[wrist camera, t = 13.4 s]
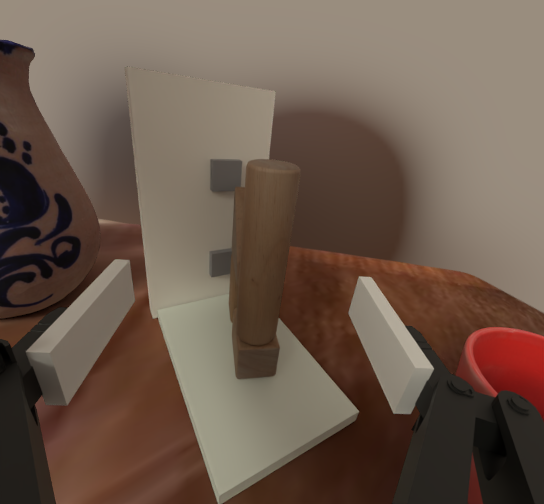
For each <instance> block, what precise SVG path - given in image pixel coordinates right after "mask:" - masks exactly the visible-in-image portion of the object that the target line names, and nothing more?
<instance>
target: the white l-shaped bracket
mask: <svg viewBox="0 0 544 504" xmlns="http://www.w3.org/2000/svg"><path fill="white" fill-rule="evenodd" d="M125 76H126V85H127V94H128V104H129V113H130V123H131V133H132V142H133V152H134V160H135V171H136V180H137V189H138V198H139V209H140V218H141V228H142V237H143V247H144V256H145V266H146V275H147V285H148V294H149V304H150V311H151V314H152V317H153V319H154V318H158V320H159V323H160V326H161V329H162V332H163V336H164V339H165V342H166V345H167V348H168V351H169V354H170V357H171V360H172V363H173V366H174V369H175V373H176V376H177V379H178V382H179V385H180V388H181V391H182V394H183V397H184V400H185V403H186V406H187V410H188V413H189V416H190V419H191V422H192V425H193V428H194V431H195V434H196V437H197V440H198V443H199V447H200V450H201V453H202V456H203V459H204V462H205V465H206V468H207V471H208V474H209V477H210V480H211V484H212V487H213V490H214V493H215V496H216V499H217V502H218V504H222V503H224V502H225V501H227V500H229V499H230V498H232V497H233V496H235V495H237V494H238V493H240V492H241V491H243V490H245V489H246V488H248V487H250V486H251V485H253V484H254V483H256V482H258V481H259V480H261V479H262V478H264V477H266V476H267V475H269V474H270V473H272V472H274V471H275V470H277V469H278V468H280V467H282V466H283V465H285V464H286V463H288V462H290V461H291V460H293V459H295V458H296V457H298V456H299V455H301V454H303V453H304V452H306V451H307V450H309V449H311V448H312V447H314V446H315V445H317V444H319V443H320V442H322V441H323V440H325V439H327V438H328V437H330V436H331V435H333V434H335V433H336V432H338V431H340V430H341V429H343V428H344V427H346V426H348V425H349V424H351V423H352V422H354V421H356V418H357V415H358V413H359V411H358V410H357V408H356V407H355V406H354V405H353V404H352V403H351V401H350V400H349V399H348V398H347V397H346V396H345V394H344V393H343V392H342V391H341V390H340V389H339V387H338V386H337V385H336V384H335V383H334V382H333V380H332V379H331V378H330V377H329V376H328V375H327V373H326V372H325V371H324V370H323V369H322V368H321V366H320V365H319V364H318V363H317V362H316V361H315V359H314V358H313V357H312V356H311V355H310V353H309V352H308V351H307V350H306V349H305V348H304V346H303V345H302V344H301V343H300V342H299V341H298V339H297V338H296V337H295V336H294V335H293V334H292V332H291V331H290V330H289V329H288V328H287V327H286V325H285V324H284V323H283V322H282V321H281V320H280V318H279V319H278V325H277V332H276V335H277V339H278V342H279V346H280V351H279V357H278V363H277V369H276V374H275V375H274V376H270V377H259V378H248V379H237V378H236V376H235V365H234V354H233V344H232V322H231V321H230V312H229V288H230V268H231V255H232V231H233V212H234V192H235V187H245V178H246V166H247V163H248V161H251V160H255V159H269V152H270V151H269V150H270V141H271V132H272V122H273V112H274V102H275V91H270V90H264V89H258V88H253V87H246V86H241V85H235V84H229V83H223V82H217V81H211V80H205V79H199V78H193V77H187V76H182V75H176V74H170V73H163V72H158V71H152V70H146V69H140V68H134V67H128V66H127V67H125Z"/></svg>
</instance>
